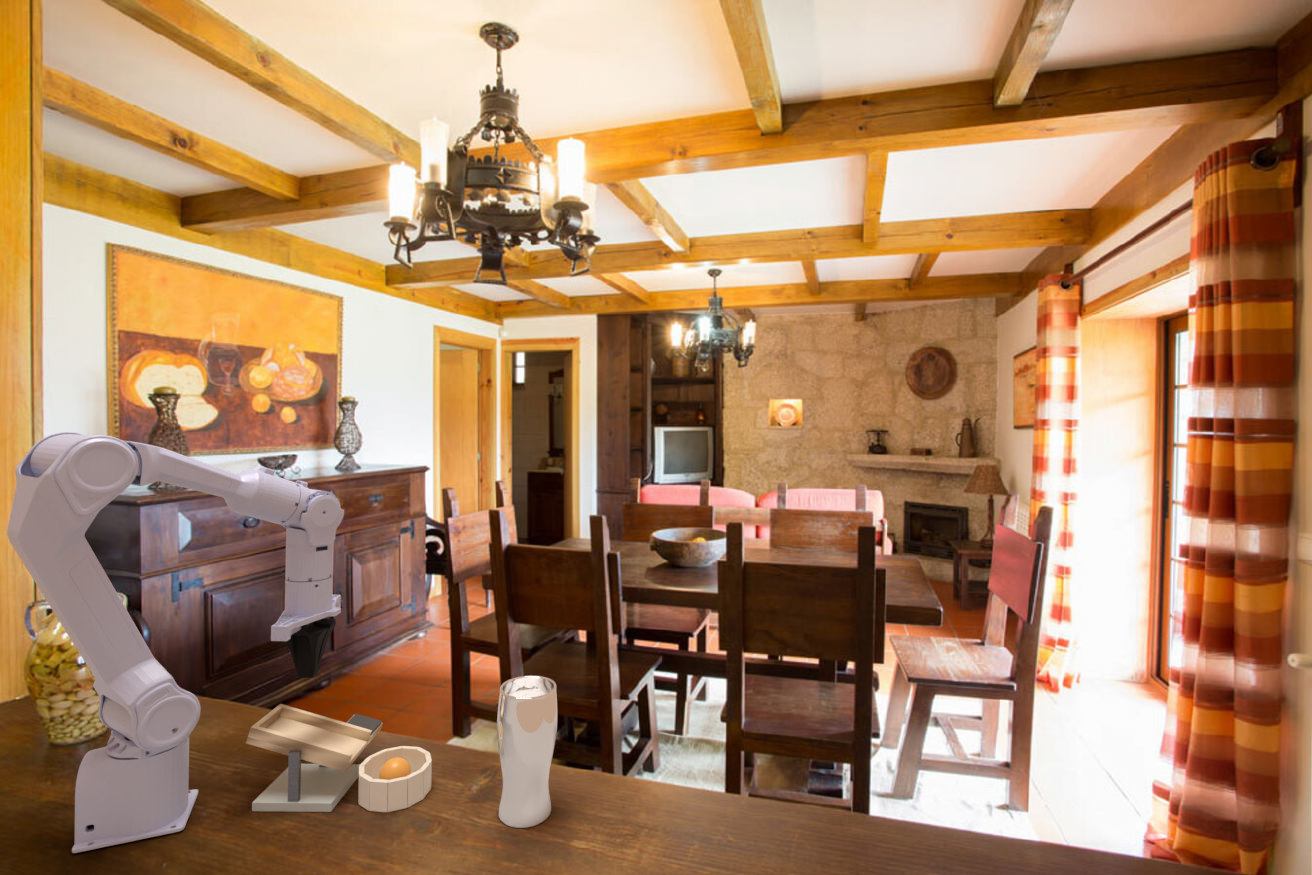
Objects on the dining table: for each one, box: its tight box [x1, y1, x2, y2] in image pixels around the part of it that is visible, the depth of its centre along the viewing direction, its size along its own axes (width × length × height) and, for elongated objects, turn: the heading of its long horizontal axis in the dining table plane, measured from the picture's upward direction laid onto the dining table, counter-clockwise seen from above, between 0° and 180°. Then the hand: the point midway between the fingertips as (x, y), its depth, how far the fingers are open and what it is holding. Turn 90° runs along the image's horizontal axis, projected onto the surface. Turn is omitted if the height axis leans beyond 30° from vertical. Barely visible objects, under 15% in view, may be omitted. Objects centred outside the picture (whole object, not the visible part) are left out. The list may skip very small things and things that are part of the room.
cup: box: [357, 745, 433, 813], centre depth 78 cm, size 8×8×4 cm
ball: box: [379, 757, 411, 780], centre depth 77 cm, size 4×4×4 cm
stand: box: [251, 750, 361, 813], centre depth 77 cm, size 9×8×7 cm
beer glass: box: [496, 675, 558, 829], centre depth 74 cm, size 7×7×15 cm
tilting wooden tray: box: [245, 703, 384, 772], centre depth 79 cm, size 12×11×2 cm
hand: (307, 675), depth 86 cm, fingers closed
